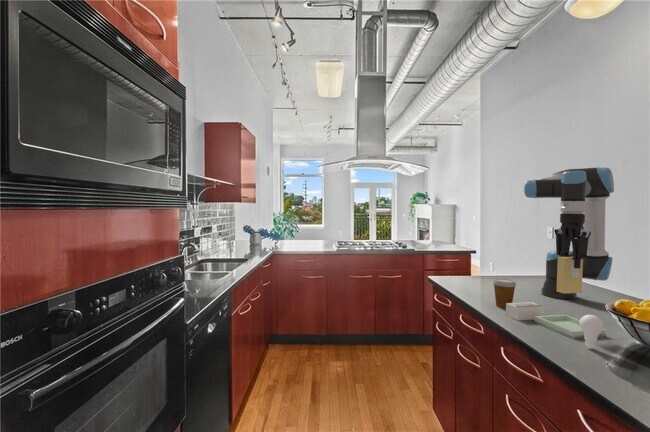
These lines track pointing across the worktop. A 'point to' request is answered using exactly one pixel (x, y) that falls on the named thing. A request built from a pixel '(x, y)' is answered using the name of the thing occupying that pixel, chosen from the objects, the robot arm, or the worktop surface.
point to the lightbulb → (591, 329)
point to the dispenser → (524, 310)
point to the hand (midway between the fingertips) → (570, 275)
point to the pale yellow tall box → (568, 276)
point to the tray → (564, 325)
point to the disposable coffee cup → (504, 291)
